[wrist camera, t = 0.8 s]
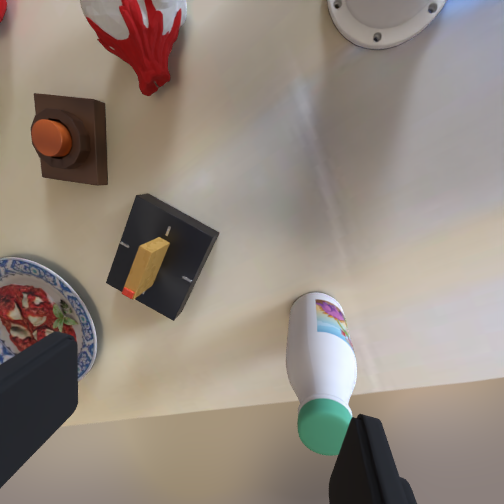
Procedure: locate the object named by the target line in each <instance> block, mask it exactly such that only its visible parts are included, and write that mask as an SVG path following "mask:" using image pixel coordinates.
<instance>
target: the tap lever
mask: <svg viewBox="0 0 504 504" xmlns="http://www.w3.org/2000/svg"><path fill="white" fill-rule="evenodd" d="M169 245H170V243H169V242H168V241H166V240H164V239H162V238H160V237H158V238H156V239H154V240H151V241H149V242H147V243H145V244H142V245H140V246H139V248H138V251H137V254H136V256H135V259H134V262H133V264H132V267H131V270H130V272H129V275H128V278H127V280H126V283H125V286H124V288H123V291H122V294H123V295H125V296H127V297H129V298H130V299H133V300H134V299H135V298H136V297H138V296H139V295H140V294H142V293H143V292H144V291H146V290H147V289H148V288H150V287H151V286H152V285H153V283H154V281H155V278H156V276H157V273H158V271H159V269H160V266H161V264H162V261H163V259H164V257H165V254H166V252H167V249H168V247H169Z"/></svg>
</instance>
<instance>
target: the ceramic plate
mask: <svg viewBox="0 0 504 504" xmlns="http://www.w3.org/2000/svg"><path fill="white" fill-rule="evenodd" d="M55 331H58V332H62V333H66V334H69V335H72V336H74V338H75V341H76V342H77V344H78V381H80V380H81V379H82V378H84V377H85V376H86V375H87V373H88V372H89V370H90V369H91V367H92V366H93V364H94V361H95V358H96V353H97V336H96V331H95V327H94V323H93V321H92V318H91V315H90V313H89V311H88V309H87V307H86V306H85V304H84V302H83V301H82V299H81V298H80V297H79V295H78V294H77V293H76V292H75V290H74V289H73V288H72V287H71V286H70V285H69V284H68V283H67V282H66V281H65V280H64V279H62V278H61V277H60V276H59V275H57V274H56V273H55V272H53V271H52V270H50V269H48V268H47V267H45V266H43V265H41V264H39V263H36V262H33V261H30V260H27V259H23V258H16V257H7V258H0V364H2V363H4V362H5V361H7V360H9V359H10V358H12V357H13V356H15V355H17V354H18V353H20V352H21V351H23V350H25V349H26V348H28V347H30V346H31V345H33V344H34V343H36V342H38V341H39V340H41V339H42V338H44V337H46V336H47V335H49V334H51V333H52V332H55Z"/></svg>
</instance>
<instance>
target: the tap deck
mask: <svg viewBox="0 0 504 504" xmlns="http://www.w3.org/2000/svg"><path fill="white" fill-rule="evenodd" d="M218 235H219V232H217V231H215V230H213V229H212V228H210V227H208V226H206V225H204V224H202V223H201V222H199V221H197V220H195V219H193V218H191V217H190V216H188V215H186V214H184V213H182V212H181V211H179V210H177V209H175V208H173V207H171V206H170V205H168V204H166V203H164V202H162V201H160V200H159V199H157V198H155V197H153V196H151V195H149V194H142V195H136V198H135V201H134V203H133V206H132V209H131V212H130V215H129V218H128V221H127V224H126V227H125V229H124V232H123V235H122V238H121V241H120V244H119V247H118V250H117V253H116V255H115V258H114V261H113V264H112V267H111V270H110V273H109V276H108V279H107V281H106V283H107V284H109V285H111V286H112V287H114V288H116V289H118V290H120V291H121V292H122V291H123V288H124V286H125V283H126V280H127V278H128V275H129V272H130V270H131V267H132V264H133V262H134V259H135V256H136V254H137V251H138V248H139V246H140V245H142V244H145V243H147V242H149V241H151V240H154V239H156V238H158V237H160V238H162V239H164V240H166V241H168V242H169V243H170V245H169V247H168V249H167V252H166V254H165V257H164V259H163V261H162V264H161V266H160V269H159V271H158V273H157V276H156V278H155V281H154V283H153V285H152V286H151V287H150V288H148V289H147V290H146V291H144V292H143V293H142V294H140V295H139V296H138V297H136V298H135V299H136V300H137V301H139V302H141V303H143V304H145V305H146V306H148V307H150V308H152V309H154V310H155V311H157V312H159V313H161V314H163V315H164V316H166V317H168V318H170V319H171V320H173V321H174V320H175V319H176V318H177V317H178V315H179V314H180V313H181V312H182V310H183V308H184V306H185V304H186V302H187V300H188V298H189V296H190V293H191V291H192V289H193V287H194V285H195V283H196V281H197V279H198V277H199V275H200V273H201V270H202V268H203V266H204V264H205V262H206V260H207V258H208V256H209V254H210V252H211V249H212V247H213V245H214V243H215V241H216V239H217V237H218Z"/></svg>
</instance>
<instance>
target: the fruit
mask: <svg viewBox="0 0 504 504" xmlns="http://www.w3.org/2000/svg"><path fill="white" fill-rule="evenodd" d="M6 6H7V2H6V0H0V22H1V21H2V20H3V17H4V14H5V11H6Z"/></svg>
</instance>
